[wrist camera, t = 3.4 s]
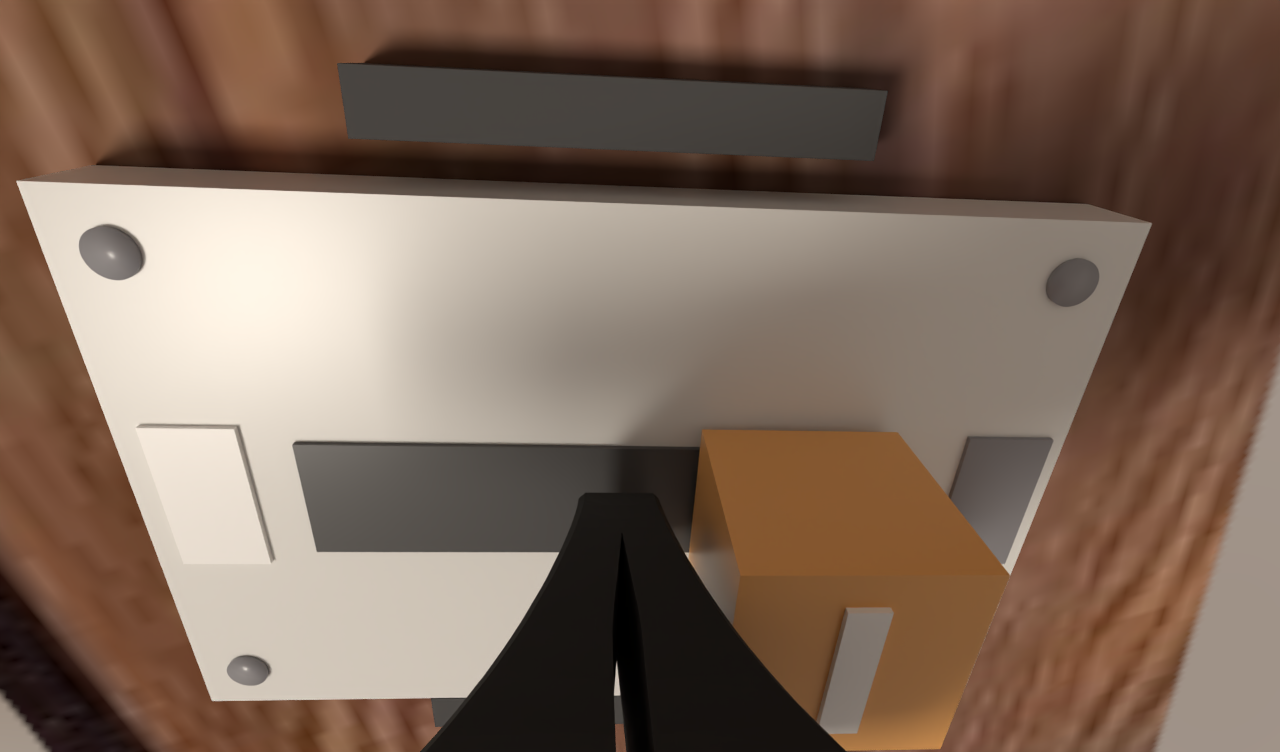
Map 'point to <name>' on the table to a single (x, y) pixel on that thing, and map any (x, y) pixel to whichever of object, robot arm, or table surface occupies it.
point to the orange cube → (846, 577)
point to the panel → (528, 380)
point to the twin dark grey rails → (606, 124)
